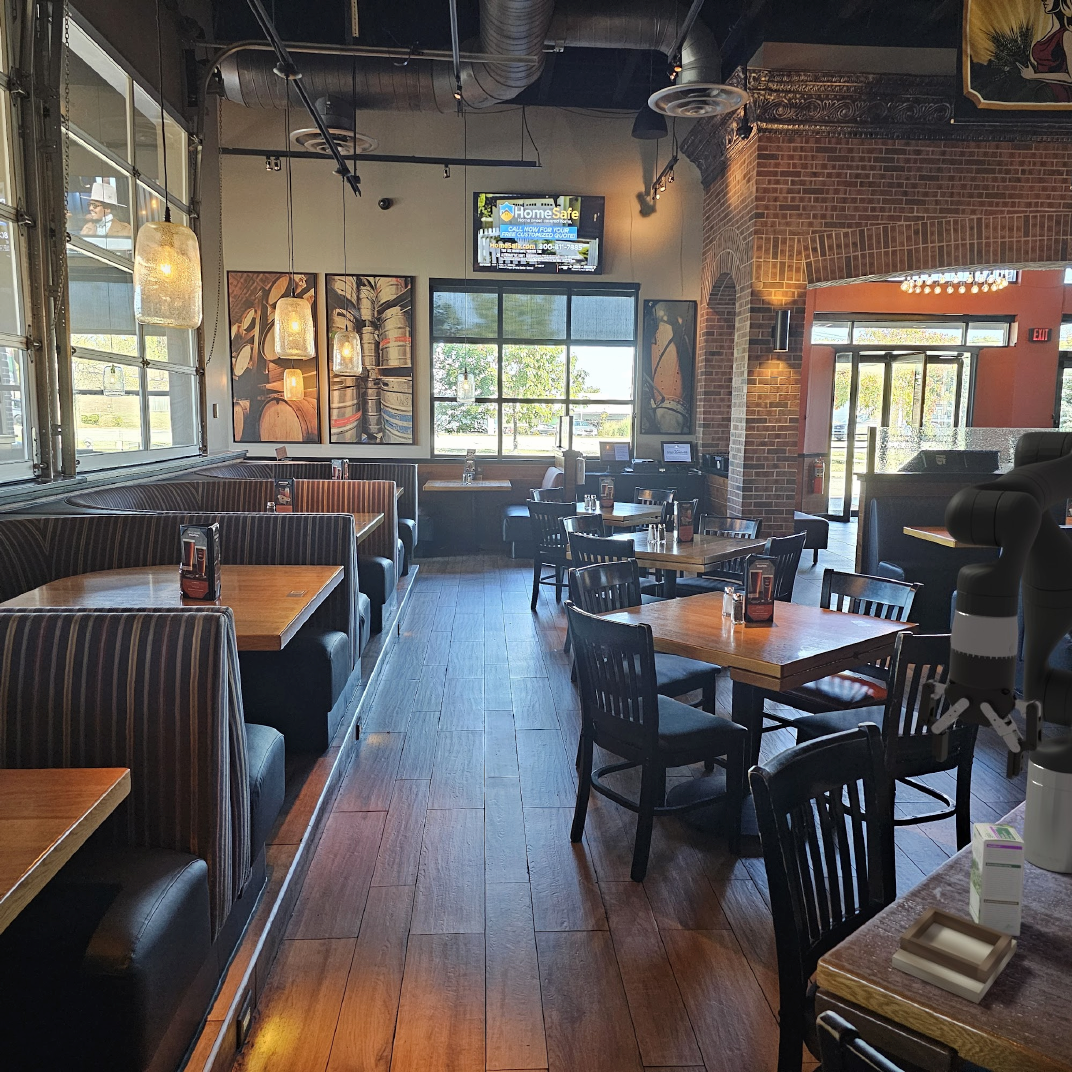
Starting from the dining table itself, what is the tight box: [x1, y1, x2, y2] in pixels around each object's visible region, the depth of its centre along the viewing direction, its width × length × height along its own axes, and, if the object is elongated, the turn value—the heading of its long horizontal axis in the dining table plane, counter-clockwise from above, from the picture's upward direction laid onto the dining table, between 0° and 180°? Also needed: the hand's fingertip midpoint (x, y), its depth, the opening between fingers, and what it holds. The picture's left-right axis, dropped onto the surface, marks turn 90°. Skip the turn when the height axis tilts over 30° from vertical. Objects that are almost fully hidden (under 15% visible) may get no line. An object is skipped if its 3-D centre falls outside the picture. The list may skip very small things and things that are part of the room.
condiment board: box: [891, 905, 1018, 1005], centre depth 119 cm, size 16×11×3 cm
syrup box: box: [968, 822, 1025, 937], centre depth 127 cm, size 6×6×14 cm
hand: (975, 768), depth 112 cm, fingers open, 8 cm apart
